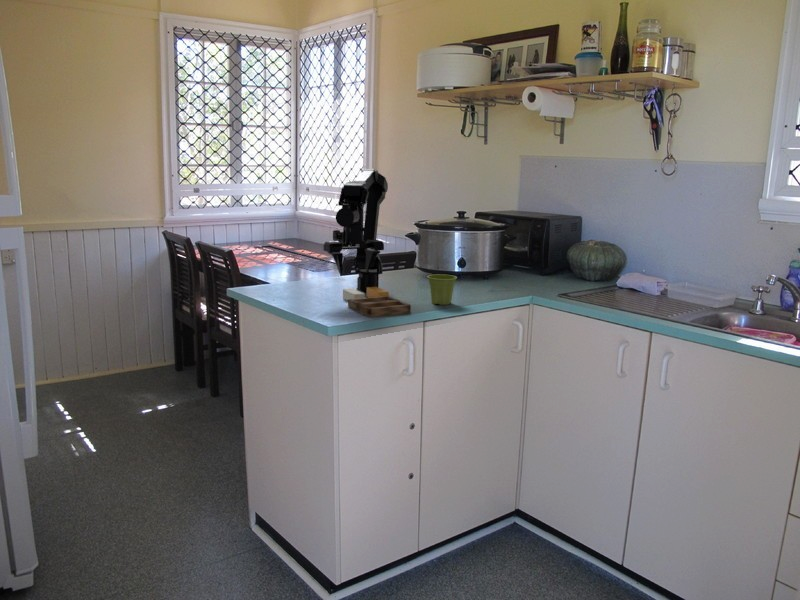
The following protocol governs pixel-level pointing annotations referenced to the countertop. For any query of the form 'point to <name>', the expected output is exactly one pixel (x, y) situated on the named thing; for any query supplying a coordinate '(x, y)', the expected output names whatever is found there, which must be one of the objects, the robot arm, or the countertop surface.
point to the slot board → (379, 306)
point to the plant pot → (441, 288)
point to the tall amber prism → (376, 292)
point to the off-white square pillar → (352, 294)
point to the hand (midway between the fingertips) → (353, 273)
